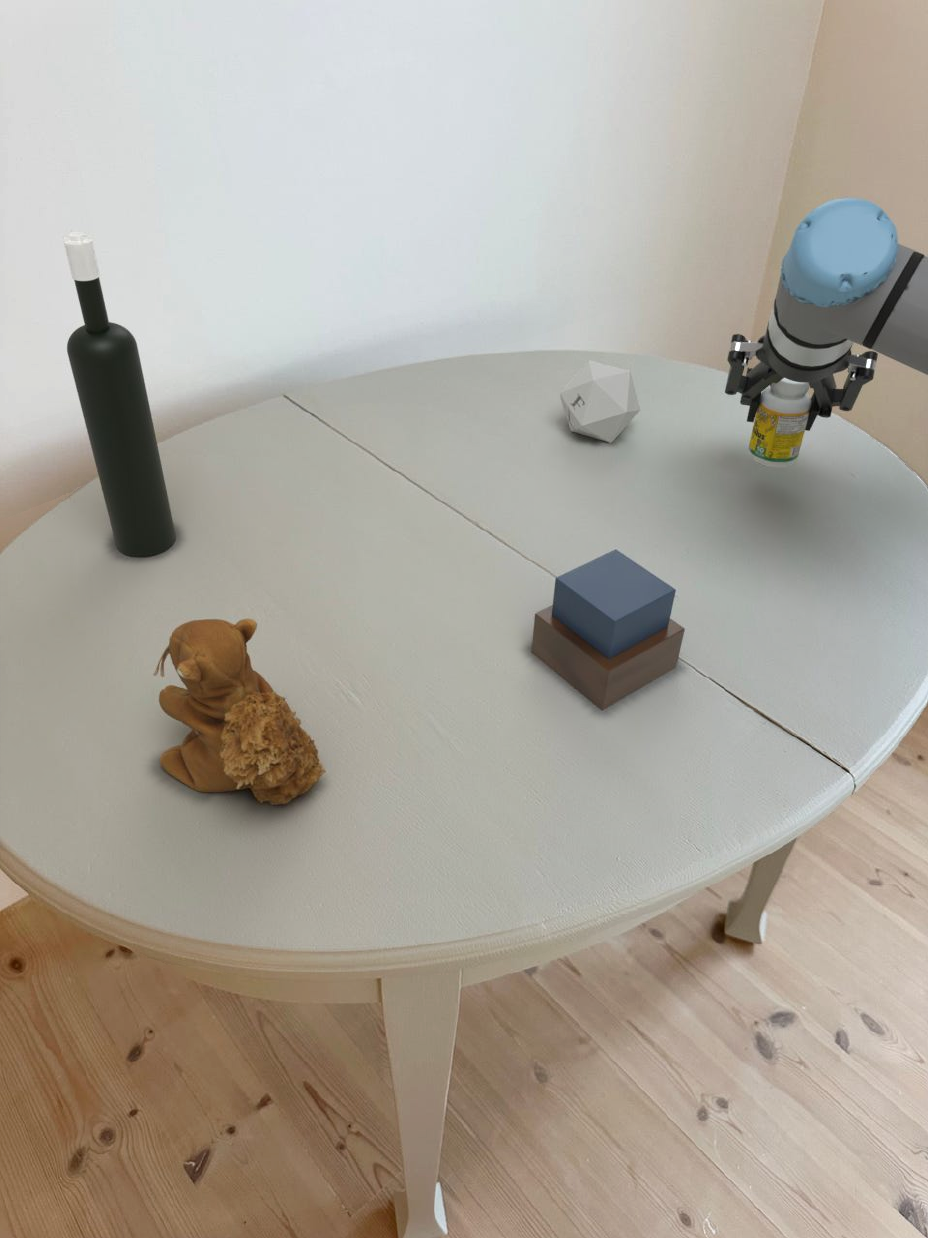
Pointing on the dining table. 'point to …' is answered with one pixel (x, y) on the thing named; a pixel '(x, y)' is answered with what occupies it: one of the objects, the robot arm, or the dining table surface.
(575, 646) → the base block
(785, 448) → the supplement bottle
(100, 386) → the wine bottle
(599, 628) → the top block
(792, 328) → the robot arm
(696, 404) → the dining table surface
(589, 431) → the die
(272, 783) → the stuffed squirrel
